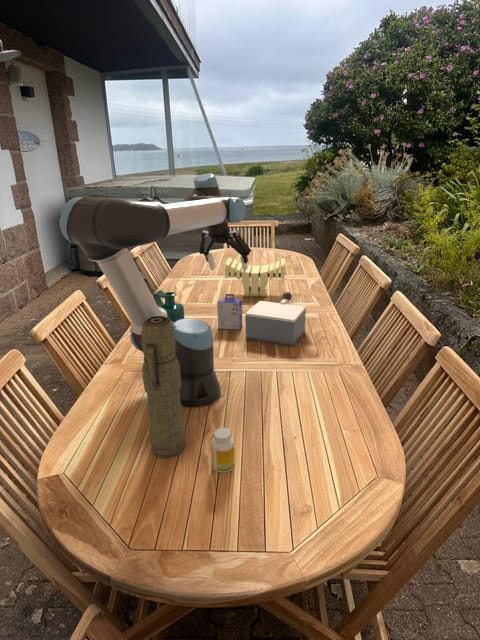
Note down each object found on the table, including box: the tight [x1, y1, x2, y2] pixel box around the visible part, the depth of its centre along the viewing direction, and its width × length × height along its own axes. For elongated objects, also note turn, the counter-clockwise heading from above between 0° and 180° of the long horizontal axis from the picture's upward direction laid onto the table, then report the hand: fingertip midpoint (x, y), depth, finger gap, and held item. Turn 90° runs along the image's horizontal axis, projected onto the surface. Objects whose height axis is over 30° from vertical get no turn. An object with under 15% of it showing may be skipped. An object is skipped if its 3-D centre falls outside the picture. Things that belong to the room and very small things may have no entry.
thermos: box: [141, 316, 186, 459], centre depth 101 cm, size 9×12×35 cm
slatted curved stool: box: [224, 256, 286, 298], centre depth 220 cm, size 30×16×18 cm, turn 84°
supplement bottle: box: [210, 427, 235, 474], centre depth 99 cm, size 5×5×10 cm
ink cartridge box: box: [216, 293, 243, 331], centre depth 178 cm, size 10×6×14 cm, turn 78°
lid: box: [245, 291, 307, 322], centre depth 171 cm, size 24×20×4 cm
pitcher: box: [152, 289, 185, 322], centre depth 160 cm, size 10×8×22 cm
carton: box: [244, 309, 307, 348], centre depth 170 cm, size 16×20×10 cm
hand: (229, 269), depth 160 cm, fingers open, 13 cm apart
